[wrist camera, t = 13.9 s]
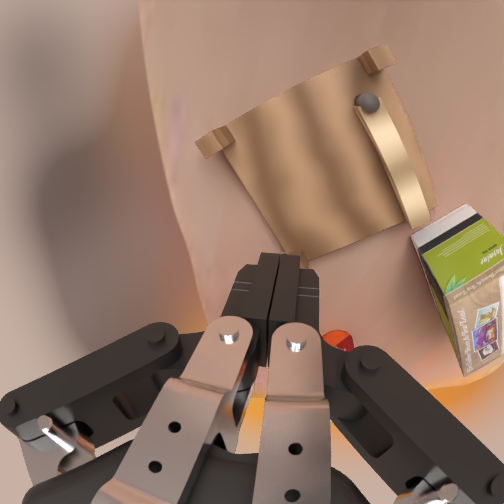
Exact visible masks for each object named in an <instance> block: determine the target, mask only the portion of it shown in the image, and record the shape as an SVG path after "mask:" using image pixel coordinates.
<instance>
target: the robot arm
mask: <svg viewBox="0 0 504 504" xmlns="http://www.w3.org/2000/svg"><path fill="white" fill-rule="evenodd" d="M300 257H301V255H290V254H282V255H281V254H275V253H261V255H260V258H259V261H258V265H249V264H247V265H245V266H244V267H243V268H242V269H241V270H240V271H239V272H238V274H237V276H236V279H235V282H234V284H233V287H232V290H231V292H230V294H229V297H228V299H227V302H226V305H225V307H224V310H223V312H222V315H221V317H220V318H218V319H216V320H214V321H212V322H211V323H210V324H209V325H208V327H207V328H206V330H205V331H203V332H198V333H190V334H178V331H177V329H176V328H175V327H174V326H172V325H171V324H168V323H164V322H157V323H152V324H149V325H147V326H145V327H143V328H141V329H139V330H137V331H135V332H133V333H131V334H129V335H127V336H125V337H123V338H121V339H119V340H117V341H115V342H113V343H111V344H109V345H107V346H105V347H103V348H101V349H99V350H97V351H95V352H93V353H91V354H88V355H87V356H84V357H82V358H80V359H78V360H76V361H74V362H72V363H70V364H68V365H66V366H64V367H62V368H60V369H58V370H55V371H53V372H51V373H49V374H47V375H45V376H43V377H41V378H39V379H37V380H34V381H32V382H30V383H28V384H26V385H24V386H22V387H19V388H17V389H15V390H13V391H11V392H9V393H7V394H6V395H5V396H4V397H3V398H2V399H1V401H0V422H1V424H2V425H4V426H5V427H6V428H7V429H8V430H10V431H11V432H12V433H13V434H15V435H16V436H17V437H18V439H19V441H20V444H21V448H22V452H23V456H24V459H25V463H26V466H27V469H28V472H29V475H30V478H31V481H32V483H33V487H32V488H30V489H29V490H28V492H27V493H26V494H25V496H24V498H23V501H22V504H370V503H369V502H368V500H367V499H366V498H365V497H364V495H363V494H362V493H361V492H360V490H359V489H358V488H357V487H356V486H355V484H354V483H353V482H352V481H351V480H350V479H349V478H348V477H347V476H345V475H344V474H343V473H341V472H340V471H338V470H336V469H335V468H333V467H331V437H330V436H331V435H330V420H331V421H332V422H333V423H334V425H335V426H336V427H337V428H338V429H339V430H340V432H341V433H342V434H343V435H344V436H345V437H346V439H347V440H348V441H349V442H350V443H351V444H352V446H353V447H354V448H355V449H356V450H357V451H358V453H359V454H360V455H361V456H362V457H363V458H364V459H365V460H366V462H367V463H368V464H369V465H370V466H371V467H372V468H373V469H374V471H375V472H376V473H378V475H379V476H380V477H381V478H382V479H383V480H384V481H385V483H386V484H387V485H388V486H389V487H390V488H391V489H392V490H393V491H394V492H395V493H396V494H397V496H398V497H397V498H396V500H395V502H394V504H503V503H504V464H503V463H502V462H501V461H500V460H499V459H498V458H497V457H496V456H495V455H494V454H493V453H492V452H491V451H490V450H489V449H488V448H487V447H486V446H485V445H484V444H482V442H481V441H480V440H478V439H477V438H476V437H475V436H474V435H473V434H472V433H471V432H470V431H469V430H468V429H467V428H466V427H465V426H464V425H463V424H462V423H461V422H460V421H458V419H457V418H456V417H454V416H453V415H452V414H451V413H450V412H449V411H448V410H447V409H446V408H445V407H444V406H443V405H442V404H441V403H440V402H438V400H436V399H435V398H434V397H433V396H432V395H431V394H430V393H429V392H428V391H427V390H426V389H425V388H424V387H423V386H422V385H420V384H419V383H418V382H417V381H416V380H415V379H414V378H413V377H412V376H411V375H410V374H409V373H408V372H406V371H405V370H404V369H403V368H402V367H401V366H400V365H399V364H398V363H397V362H396V361H395V360H393V359H392V358H391V357H390V356H389V355H388V354H387V353H386V352H385V351H383V350H382V349H380V348H378V347H374V346H369V345H364V346H359V347H356V348H354V349H353V350H351V351H350V352H347V351H344V350H341V349H338V348H335V347H333V346H331V345H330V344H328V343H327V342H326V341H325V340H324V339H323V338H322V336H321V334H320V332H319V277H318V276H317V274H316V273H315V271H314V269H301V268H300ZM267 359H268V367H269V374H268V384H267V394H266V398H265V404H264V414H263V422H262V431H261V441H260V448H259V453H252V454H235V451H236V447H237V443H238V436H239V431H240V427H241V424H242V422H243V419H244V416H245V413H246V410H247V407H248V404H249V401H250V398H251V395H252V392H253V389H254V386H255V379H256V376H257V372H258V367H259V366H262V367H266V364H267ZM140 426H141V427H140ZM138 427H140V429H139V431H138V433H137V435H136V436H135V438H134V439H133V440H130V441H128V442H126V443H124V444H122V445H120V446H118V447H116V448H114V449H113V450H111V451H109V452H107V453H105V454H103V455H101V456H99V457H97V458H96V456H95V454H94V452H95V448H98V447H100V446H102V445H104V444H106V443H108V442H110V441H112V440H114V439H116V438H119V437H121V436H123V435H125V434H126V433H128V432H130V431H132V430H134V429H136V428H138Z"/></svg>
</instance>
